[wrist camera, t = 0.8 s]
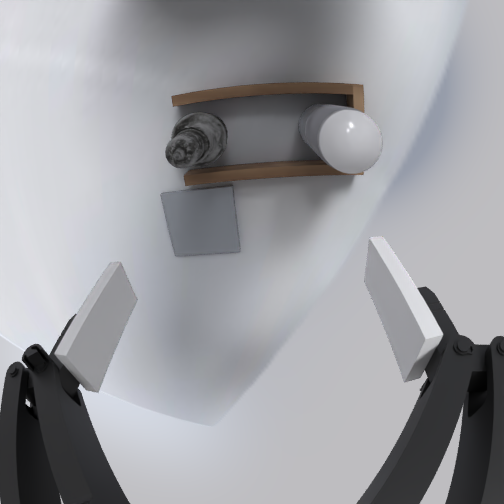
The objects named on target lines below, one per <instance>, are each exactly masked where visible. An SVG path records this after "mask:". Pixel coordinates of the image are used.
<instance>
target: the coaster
mask: <svg viewBox="0 0 504 504" xmlns="http://www.w3.org/2000/svg"><path fill="white" fill-rule="evenodd" d="M161 199H162V204H163V208H164V213H165V217H166V221H167V225H168V230H169V234H170V238H171V242H172V246H173V249H174V253H175V256H188V255H203V254H218V253H233V252H240V243H239V235H238V227H237V219H236V211H235V203H234V194H233V186H232V185H230V186H220V187H210V188H200V189H192V190H183V191H175V192H168V193H162V194H161Z"/></svg>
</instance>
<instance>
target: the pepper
mask: <svg viewBox="0 0 504 504" xmlns="http://www.w3.org/2000/svg"><path fill="white" fill-rule="evenodd" d="M299 132H300V135H301V137H302V139H303V140H304V142H305V143H306V144H307V145H308V146H309V147H310V148H311V149H312V150H313V151H314V152H315V153H316V154H317V155H318V156H319V157H320V158H321V159H322V160H323V161H324V162H325V163H326V164H327V165H329V166H330V167H332V168H334V169H337V170H339V171H341V172H343V173H348V174H357V173H361V172H364V171H366V170H368V169H369V168H371V167H372V166H373V165H374V164H375V163H376V161H377V160H378V158H379V156H380V154H381V151H382V144H383V142H382V135H381V131H380V129H379V127H378V125H377V124H376V122H375V121H374V120H373V119H372V118H371V117H369V116H368V115H366V114H364V113H363V112H361V111H360V110H357V109H355V108H351V107H345V106H338V105H331V104H315V105H312V106H310V107H308V108H307V109H306V110H305V111H304V112H303V113H302V115H301V117H300V120H299Z"/></svg>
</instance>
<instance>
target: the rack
mask: <svg viewBox="0 0 504 504" xmlns="http://www.w3.org/2000/svg"><path fill="white" fill-rule="evenodd" d="M305 93H316V94H346V96H347V107H351V108H355V109H357V110H360V111H361V112H363V113H364V91H363V85H359V84H345V83H318V82H296V83H269V84H254V85H243V86H233V87H224V88H217V89H210V90H203V91H197V92H191V93H185V94H180V95H175V96H172V104H173V107H174V106H180V105H186V104H191V103H197V102H204V101H211V100H218V99H226V98H235V97H245V96H257V95H273V94H305ZM363 174H364V172H361V173H357V174H348V173H343V172H341V171H339V170H337V169H334V168H332V167H330V166H329V165H327V164H326V163H325V162H324V161H323V160H301V161H280V162H264V163H251V164H239V165H229V166H219V167H210V168H202V169H194V170H188V172H187V173H186V174H185V175H184V180H185V186H189V185H197V184H206V183H216V182H226V181H236V180H248V179H261V178H276V177H294V176H318V175H363Z"/></svg>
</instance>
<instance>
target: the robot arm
mask: <svg viewBox="0 0 504 504" xmlns="http://www.w3.org/2000/svg"><path fill="white" fill-rule="evenodd" d="M364 282H365V284H366V286H367V288H368V291H369V293H370V295H371V297H372V300H373V302H374V305H375V307H376V309H377V312H378V314H379V317H380V319H381V321H382V324H383V326H384V329H385V331H386V334H387V337H388V339H389V342H390V344H391V347H392V350H393V352H394V355H395V358H396V361H397V363H398V366H399V369H400V371H401V375H402V378H403V381H404V382H407V381H411V380H415V379H418V378H420V377H421V376H422V374H423V372H424V370H425V371H426V374H427V377H428V378H427V379H426V381H425V383H424V384H423V386H422V388H421V389H420V391H421V393H420V396H419V398H418V400H417V402H416V405H415V407H414V409H413V411H412V413H411V415H410V417H409V419H408V421H407V423H406V426H405V427H404V429H403V431H402V433H401V435H400V437H399V439H398V440H397V442H396V444H395V446H394V448H393V449H392V451H391V453H390V455H389V456H388V458H387V460H386V461H385V463H384V464H383V466H382V468H381V469H380V471H379V473H378V474H377V475H376V477H375V478H374V480H373V481H372V483H371V484H370V486H369V487H368V489H367V490H366V491H365V493H364V494H363V496H362V497H361V498H360V500H359V501H358V502H357V504H419V503H420V501H421V500H422V498H423V496H424V495H425V493H426V491H427V489H428V488H429V486H430V484H431V482H432V480H433V478H434V476H435V474H436V472H437V470H438V468H439V466H440V464H441V461H442V459H443V457H444V455H445V452H446V450H447V448H448V445H449V443H450V440H451V438H452V435H453V432H454V430H455V427H456V424H457V422H458V419H459V416H460V413H461V409H462V406H463V416H462V426H461V434H460V441H459V447H458V453H457V459H456V464H455V469H454V474H453V477H452V482H451V486H450V490H449V493H448V497H447V500H446V503H445V504H504V337H503V336H497V337H495V338H494V339H493V340H492V342H491V344H490V345H475V344H474V343H473V342H472V341H471V340H470V339H469V338H467V337H465V336H462V335H459V334H458V332H457V330H456V328H455V327H454V325H453V323H452V321H451V320H450V318H449V316H448V315H447V313H446V311H445V310H444V308H443V307H442V305H441V303H440V301H439V300H438V298H437V297H436V295H435V294H434V293H433V292H432V291H431V290H430V289H428V288H427V287H421V288H417V287H416V286H415V284H414V282H413V281H412V279H411V278H410V276H409V275H408V273H407V272H406V270H405V268H404V267H403V266H402V264H401V262H400V261H399V259H398V258H397V256H396V255H395V253H394V252H393V250H392V249H391V247H390V246H389V245H388V243H387V242H386V240H385V239H384V237H383V236H380V237H370V238H369V244H368V254H367V263H366V271H365V278H364ZM137 300H138V299H137V297H136V295H135V293H134V291H133V288H132V286H131V284H130V282H129V280H128V277H127V275H126V273H125V270H124V268H123V266H122V263H121V262H114V263H110V264H109V265H108V267H107V268H106V269H105V271H104V272H103V274H102V275H101V277H100V278H99V280H98V281H97V283H96V284H95V286H94V287H93V289H92V290H91V292H90V294H89V295H88V297H87V298H86V300H85V301H84V303H83V305H82V306H81V308H80V310H79V311H78V313H77V314H75V315H74V316H73V317H72V318H71V319H70V320H69V321H68V323H67V325H66V326H65V329H64V330H63V331H62V333H61V336H60V337H59V338H58V340H57V342H56V344H55V346H54V347H53V349H52V351H51V353H50V355H48V354H47V353H46V352H45V350H44V349H43V348H42V347H41V346H40V345H39V344H34V345H31V346H30V347H28V348H27V349H26V351H25V352H24V354H23V357H22V361H23V362H24V363H25V364H26V366H27V367H28V368H25V367H24V365H23V364H22V363H20V362H15V363H13V364H11V365H10V366H9V369H8V370H7V373H6V377H5V383H4V389H3V395H2V403H1V412H0V500H1V504H61V499H60V495H61V498H62V501H63V503H64V504H130V503H129V501H128V499H127V498H126V496H125V494H124V493H123V491H122V489H121V487H120V485H119V483H118V481H117V479H116V477H115V476H114V473H113V471H112V469H111V467H110V465H109V463H108V461H107V459H106V457H105V455H104V452H103V450H102V448H101V445H100V443H99V441H98V438H97V436H96V433H95V431H94V428H93V426H92V423H91V420H90V417H89V414H88V412H87V409H86V406H85V403H84V400H83V397H82V393H81V391H80V390H79V389H78V387H79V384H81V385H82V386H83V387H84V388H85V389H86V390H88V391H92V392H99V390H100V387H101V384H102V382H103V379H104V377H105V374H106V371H107V369H108V366H109V364H110V361H111V359H112V357H113V354H114V352H115V349H116V347H117V345H118V342H119V340H120V338H121V335H122V333H123V331H124V328H125V326H126V324H127V322H128V319H129V317H130V315H131V313H132V311H133V309H134V306H135V304H136V302H137ZM26 399H27V400H28V401H29V402H30V407H29V406H27V405H26V404H25V402H26ZM463 403H464V404H463ZM59 493H60V494H59Z"/></svg>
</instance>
